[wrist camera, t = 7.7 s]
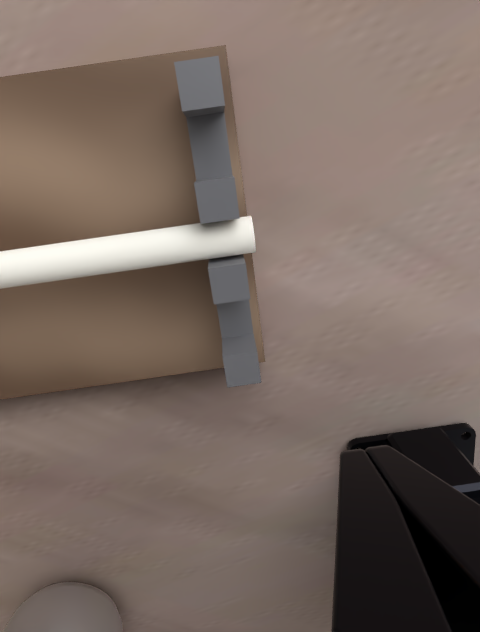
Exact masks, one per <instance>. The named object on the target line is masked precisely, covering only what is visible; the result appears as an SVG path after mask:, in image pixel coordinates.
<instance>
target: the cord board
mask: <svg viewBox="0 0 480 632" xmlns="http://www.w3.org/2000/svg"><path fill="white" fill-rule="evenodd" d="M213 56H219V63H220V71H221V78H222V86H223V94H224V101H225V110H224V114H225V122H226V129H227V137H228V145H229V152H230V160H231V167H232V175H233V176H234V178H235V185H236V193H237V201H238V208H239V216H240V217H246V216H247V212H246V204H245V196H244V188H243V180H242V172H241V164H240V156H239V148H238V140H237V132H236V124H235V116H234V108H233V100H232V92H231V84H230V76H229V68H228V60H227V52H226V45H224V46H217V47H210V48H203V49H196V50H188V51H181V52H174V53H167V54H160V55H153V56H146V57H139V58H132V59H125V60H118V61H111V62H104V63H97V64H90V65H83V66H76V67H69V68H62V69H55V70H48V71H40V72H33V73H26V74H19V75H12V76H5V77H0V251H7V250H14V249H21V248H28V247H35V246H42V245H49V244H56V243H63V242H70V241H77V240H84V239H91V238H98V237H105V236H112V235H119V234H126V233H133V232H141V231H148V230H155V229H162V228H169V227H176V226H183V225H190V224H197V223H200V217H199V211H198V205H197V199H196V193H195V187H194V182H195V181H196V175H195V168H194V162H193V156H192V150H191V144H190V138H189V131H188V125H187V119H186V116H185V115H184V113H183V112H182V107H181V101H180V95H179V89H178V83H177V77H176V71H175V65H174V62H178V61H185V60H192V59H199V58H206V57H213ZM243 255H244V259H245V263H246V269H247V277H248V285H249V292H250V299H249V303H250V311H251V319H252V326H253V334H254V338H255V343H256V348H257V353H258V361H259V363H260V362H265V357H264V349H263V341H262V333H261V325H260V317H259V309H258V301H257V293H256V284H255V276H254V268H253V260H252V253H248V254H243ZM208 263H209V259H206V260H199V261H192V262H185V263H178V264H170V265H163V266H156V267H149V268H142V269H135V270H128V271H121V272H114V273H107V274H100V275H93V276H86V277H79V278H72V279H65V280H58V281H51V282H44V283H37V284H30V285H23V286H16V287H9V288H2V289H0V400H1V399H8V398H15V397H22V396H29V395H36V394H43V393H50V392H57V391H64V390H71V389H78V388H85V387H92V386H99V385H106V384H113V383H120V382H127V381H134V380H141V379H148V378H155V377H162V376H169V375H176V374H183V373H190V372H197V371H204V370H211V369H218V368H224V364H223V357H222V335H221V329H220V323H219V317H218V311H217V305H216V304H214V303H213V296H212V290H211V284H210V278H209V272H208Z"/></svg>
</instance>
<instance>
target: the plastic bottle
mask: <svg viewBox="0 0 480 632" xmlns="http://www.w3.org/2000/svg"><path fill="white" fill-rule="evenodd" d="M2 632H122V620H121V617H120V615H119V612H118V610H117V607H116V605H115V603H114V602H113V600H112V599H111V597H109V596H108V595H107V594H106V593H105V592H103V591H102V590H100V589H99V588H96V587H94V586H92V585H88V584H84V583H78V582H62V583H56V584H52V585H49V586H46V587H44V588H43V589H41V590H39V591H37V592H36V593H35V594H33V595H32V596H31V597H29V598H28V599H27V600H26V601H24V602H23V603H22V604H21V605H20V606H19V607H18V609H17V610H16V611H15V613H14V614H13V616H12V617H11V619H10V621H9V622H8V624H7V625H6V627H5V628H4V630H3V631H2Z"/></svg>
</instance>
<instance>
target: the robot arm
mask: <svg viewBox="0 0 480 632" xmlns="http://www.w3.org/2000/svg"><path fill="white" fill-rule="evenodd" d="M464 432H466V433H465V434H464V435H462V434H463V433H464ZM475 438H476V433H475V431H474V429H473V428H472V427H471V426H470V425H469V424H467V423H460V424H453V425H446V426H439V427H432V428H425V429H418V430H411V431H404V432H397V433H390V434H383V435H376V436H369V437H362V438H356V439H353V440H351V441H350V442H349V444H348V447H347V450H348V451H342V452H341V454H340V469H339V489H338V510H337V530H336V550H335V571H334V591H333V612H332V632H480V473H479V472H478V471H477V470H476V469H475V467H474V466H473V463H474V451H475ZM358 447H361V448H360V449H356V448H358Z"/></svg>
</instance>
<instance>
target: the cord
mask: <svg viewBox="0 0 480 632" xmlns="http://www.w3.org/2000/svg"><path fill="white" fill-rule="evenodd" d="M255 252H256V246H255V237H254V229H253V223H252V218H251V216H246V217H240V218H239V219H232V220H225V221H218V222H211V223H204V224H201V223H197V224H190V225H183V226H176V227H169V228H162V229H155V230H148V231H141V232H133V233H126V234H119V235H112V236H105V237H98V238H91V239H84V240H77V241H70V242H63V243H56V244H49V245H42V246H35V247H28V248H21V249H14V250H7V251H0V289H2V288H9V287H16V286H23V285H30V284H37V283H44V282H51V281H58V280H65V279H72V278H79V277H86V276H93V275H100V274H107V273H114V272H121V271H128V270H135V269H142V268H149V267H156V266H163V265H170V264H178V263H185V262H192V261H199V260H206V259H213V258H220V257H227V256H234V255H241V254H248V253H255Z"/></svg>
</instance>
